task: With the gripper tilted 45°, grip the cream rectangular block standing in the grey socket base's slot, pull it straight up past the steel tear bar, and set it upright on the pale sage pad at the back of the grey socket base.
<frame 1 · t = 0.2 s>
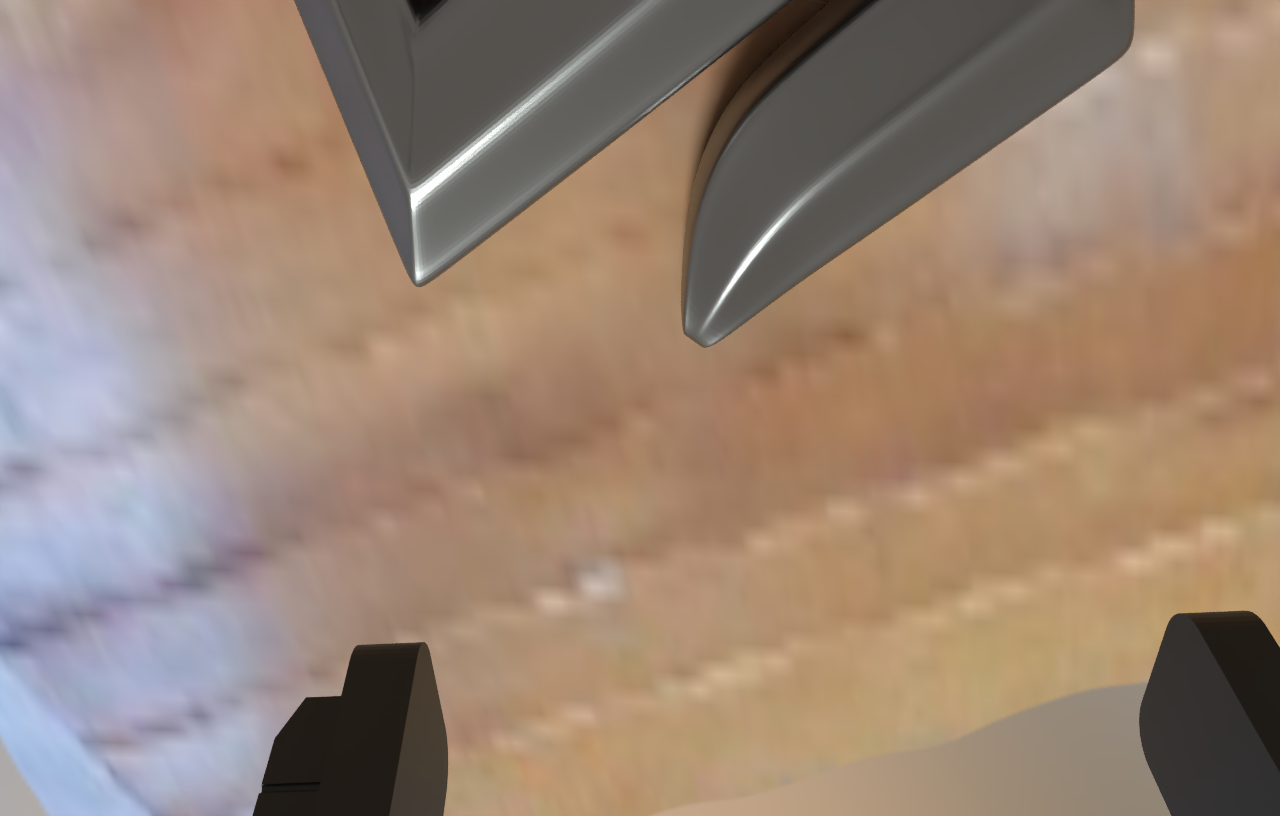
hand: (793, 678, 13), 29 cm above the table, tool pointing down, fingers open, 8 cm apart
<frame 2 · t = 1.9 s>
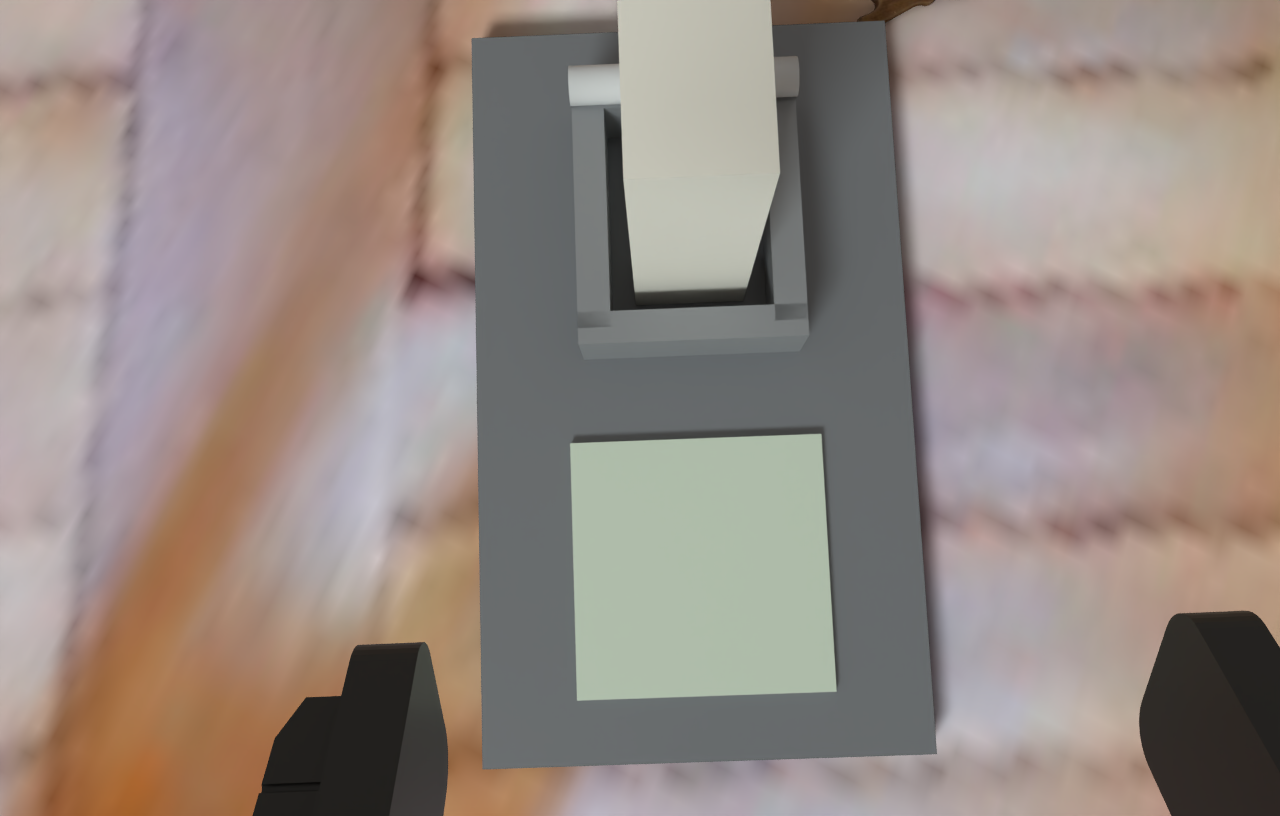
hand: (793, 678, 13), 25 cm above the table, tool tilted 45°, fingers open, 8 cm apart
grey socket base: (691, 384, 38), on the table
cream rectangular block: (686, 229, 38), point 1 cm above the table, touching grey socket base
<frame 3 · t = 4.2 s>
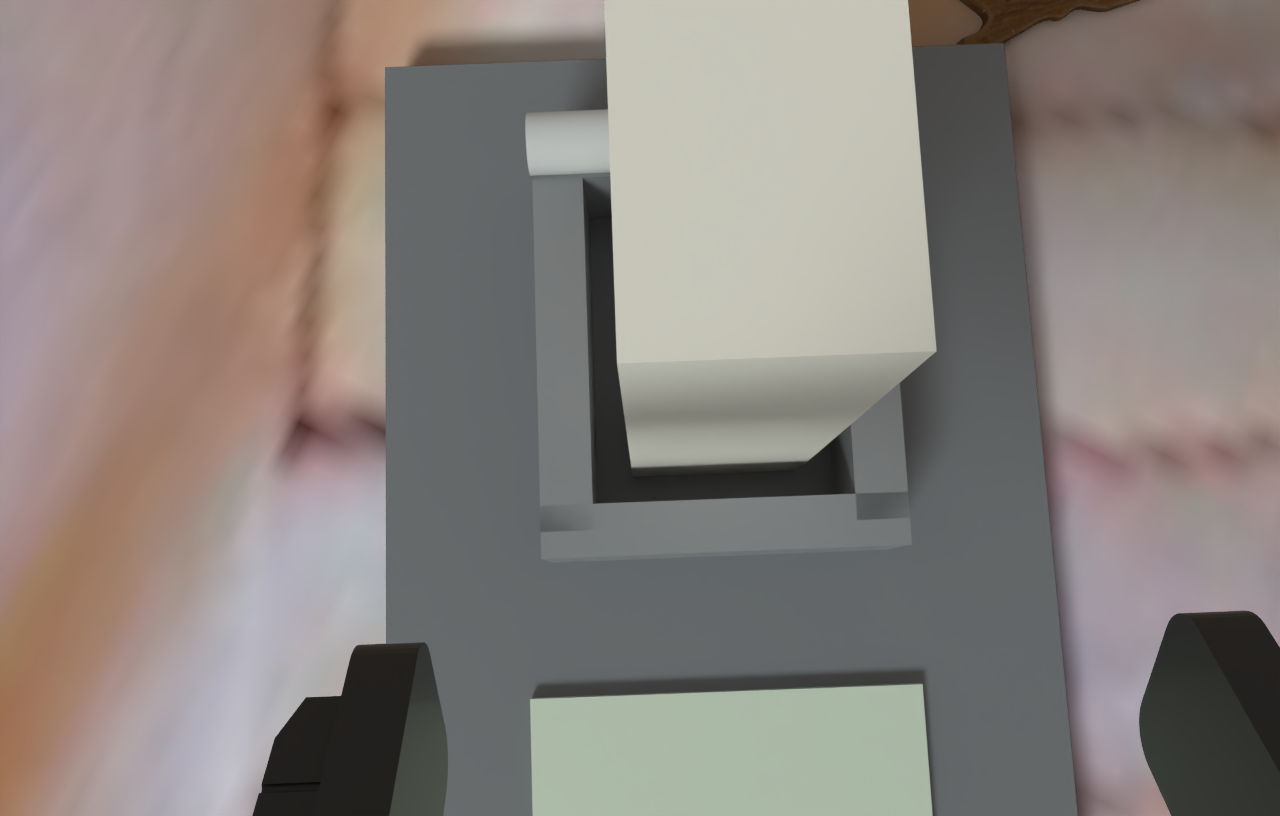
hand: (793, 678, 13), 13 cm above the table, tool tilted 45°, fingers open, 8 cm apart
grey socket base: (717, 592, 25), on the table
cream rectangular block: (709, 358, 25), point 1 cm above the table, touching grey socket base
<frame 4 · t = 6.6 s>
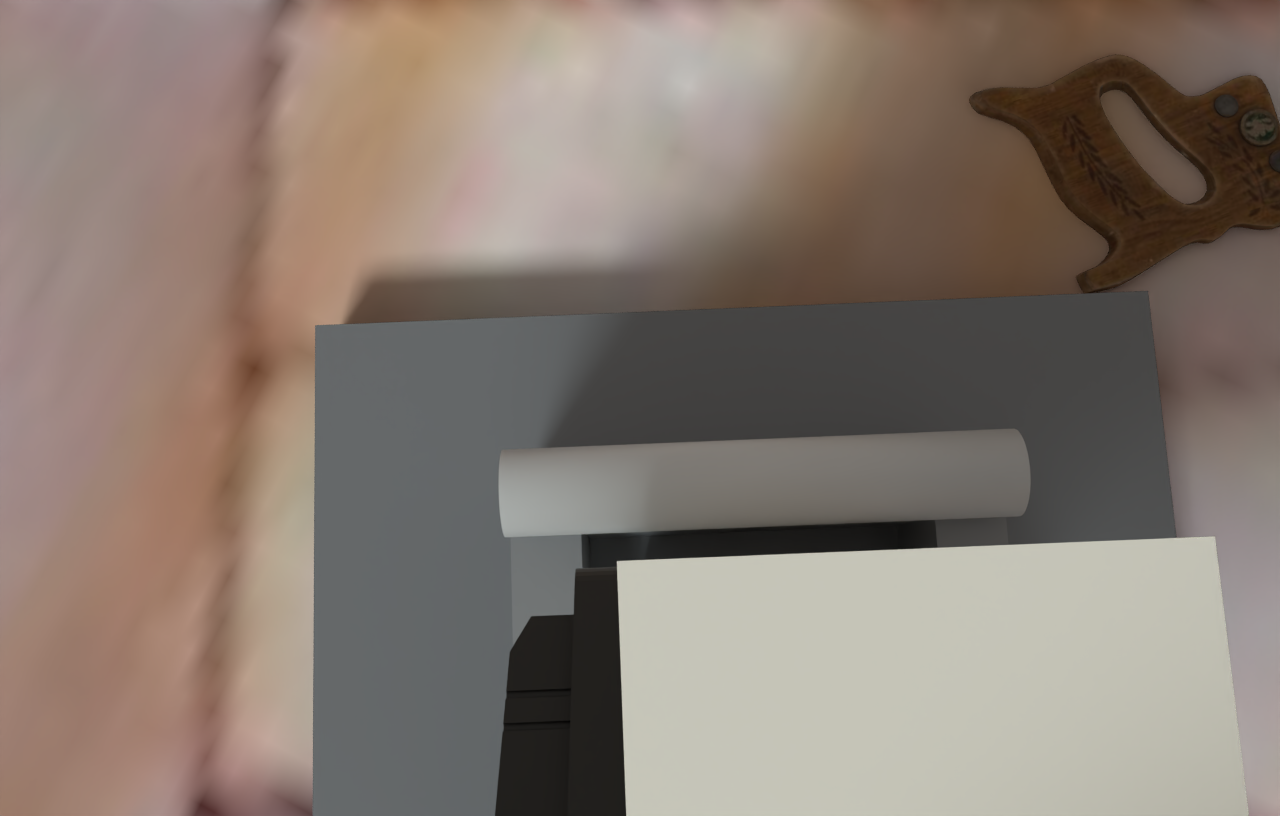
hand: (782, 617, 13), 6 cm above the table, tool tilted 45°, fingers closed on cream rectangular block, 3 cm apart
cream rectangular block: (754, 738, 18), point 1 cm above the table, touching grey socket base, gripper
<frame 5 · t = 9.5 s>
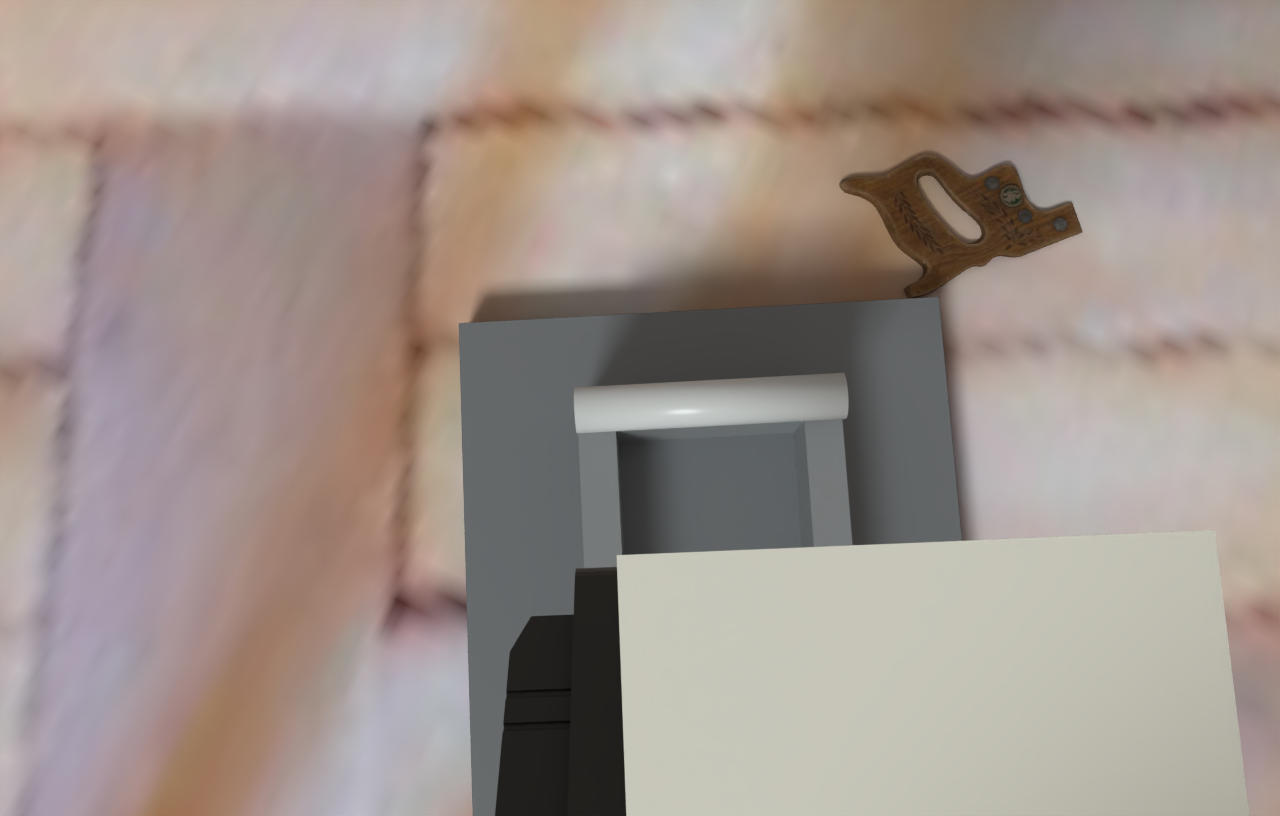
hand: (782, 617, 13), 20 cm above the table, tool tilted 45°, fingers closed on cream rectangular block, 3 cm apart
hand saw: (1212, 140, 36), on the table
grey socket base: (722, 729, 33), on the table
cream rectangular block: (754, 736, 18), point 15 cm above the table, touching gripper
when the fingers open (8 cm above the table, at t = 12.6 s): cream rectangular block drops 1 cm, resting on grey socket base.
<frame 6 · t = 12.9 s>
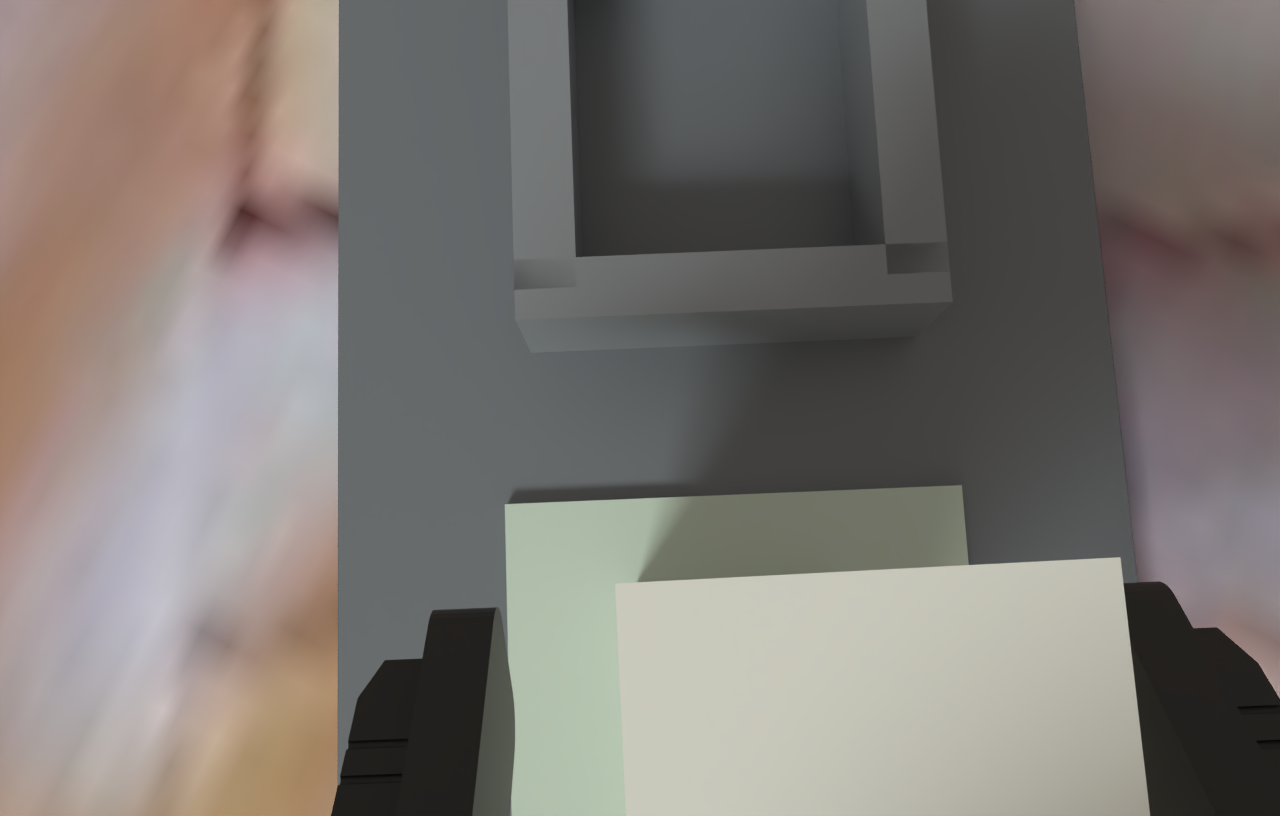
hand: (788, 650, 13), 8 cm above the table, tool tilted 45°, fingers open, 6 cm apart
grey socket base: (721, 396, 22), on the table
cream rectangular block: (746, 730, 19), point 2 cm above the table, touching grey socket base
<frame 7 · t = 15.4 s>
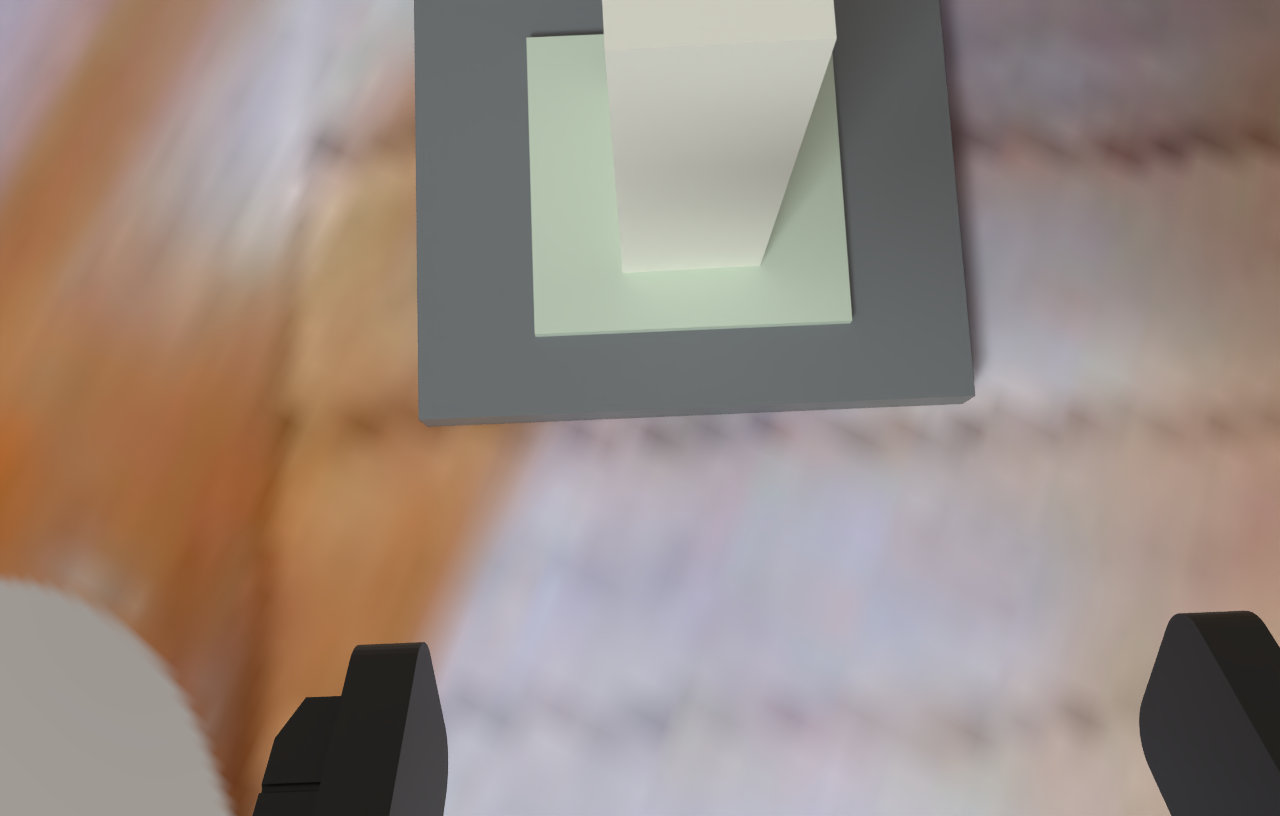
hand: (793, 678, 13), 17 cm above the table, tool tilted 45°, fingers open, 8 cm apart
cream rectangular block: (685, 175, 30), point 1 cm above the table, touching grey socket base
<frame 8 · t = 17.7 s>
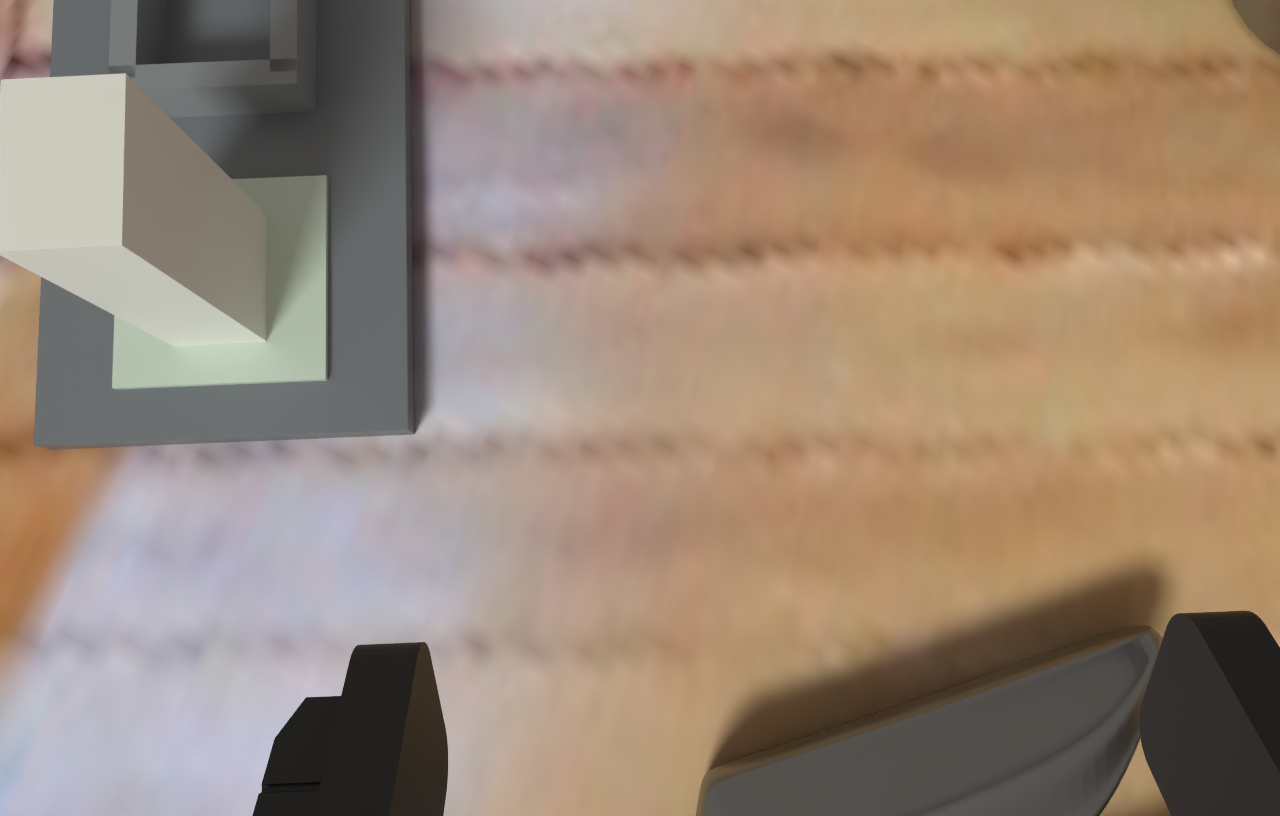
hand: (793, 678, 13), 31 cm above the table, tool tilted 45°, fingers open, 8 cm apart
grey socket base: (237, 145, 46), on the table
cream rectangular block: (220, 279, 44), point 1 cm above the table, touching grey socket base
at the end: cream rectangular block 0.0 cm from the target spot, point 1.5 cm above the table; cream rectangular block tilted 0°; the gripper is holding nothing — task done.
